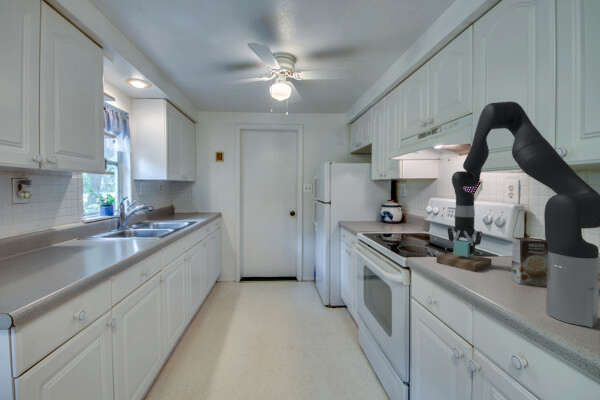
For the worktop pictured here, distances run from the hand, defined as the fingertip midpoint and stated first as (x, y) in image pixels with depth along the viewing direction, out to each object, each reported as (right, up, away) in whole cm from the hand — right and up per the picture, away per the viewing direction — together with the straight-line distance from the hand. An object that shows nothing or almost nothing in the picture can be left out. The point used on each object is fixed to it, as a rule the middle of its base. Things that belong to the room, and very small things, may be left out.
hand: (463, 252), depth 119 cm
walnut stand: (0, -6, 0) cm, 6 cm away
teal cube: (0, -1, 0) cm, 1 cm away
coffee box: (+9, -7, -23) cm, 26 cm away
